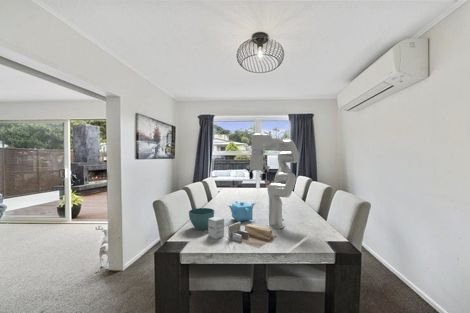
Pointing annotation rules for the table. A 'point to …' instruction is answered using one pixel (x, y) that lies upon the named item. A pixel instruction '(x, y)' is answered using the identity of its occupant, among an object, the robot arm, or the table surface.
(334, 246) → the table surface
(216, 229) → the supplement box
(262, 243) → the board
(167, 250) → the table surface
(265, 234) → the rail
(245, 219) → the teakettle
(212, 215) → the teal bowl
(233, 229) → the bracket
